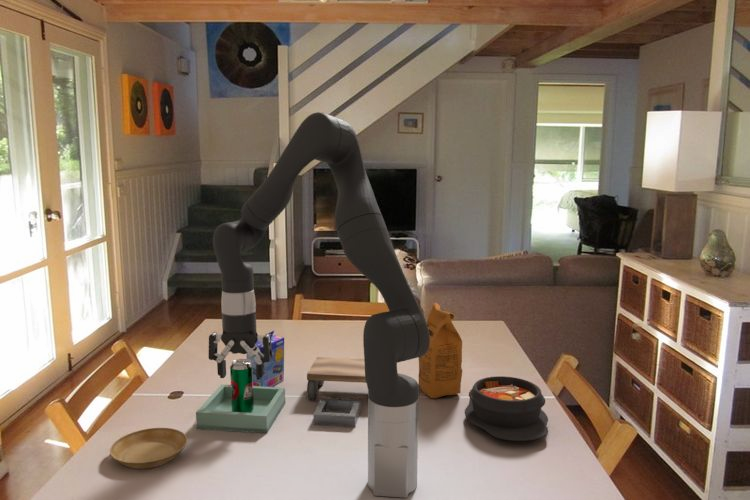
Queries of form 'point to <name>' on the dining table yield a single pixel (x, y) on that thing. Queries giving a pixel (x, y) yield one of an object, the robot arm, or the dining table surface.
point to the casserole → (508, 408)
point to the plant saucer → (148, 447)
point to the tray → (222, 418)
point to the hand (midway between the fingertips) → (241, 377)
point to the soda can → (242, 386)
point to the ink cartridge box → (270, 363)
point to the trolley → (334, 372)
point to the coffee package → (441, 356)
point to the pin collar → (337, 418)
